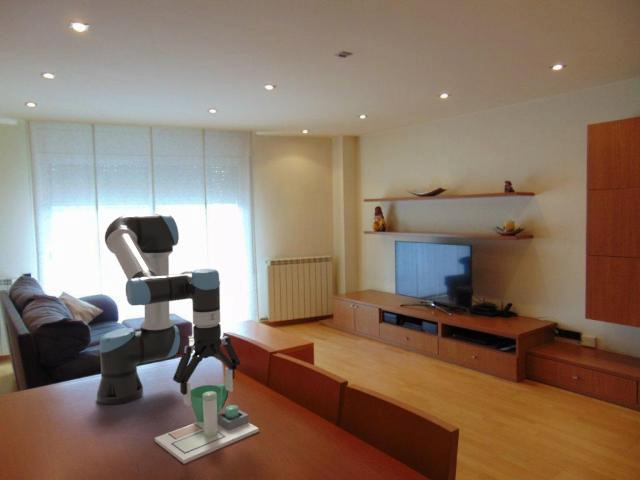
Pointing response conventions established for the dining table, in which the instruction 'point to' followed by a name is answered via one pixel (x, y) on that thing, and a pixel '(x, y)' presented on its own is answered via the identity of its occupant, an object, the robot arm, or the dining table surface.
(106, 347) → the robot arm
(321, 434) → the dining table surface
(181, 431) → the board
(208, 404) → the marker
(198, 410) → the mug
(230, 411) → the button
